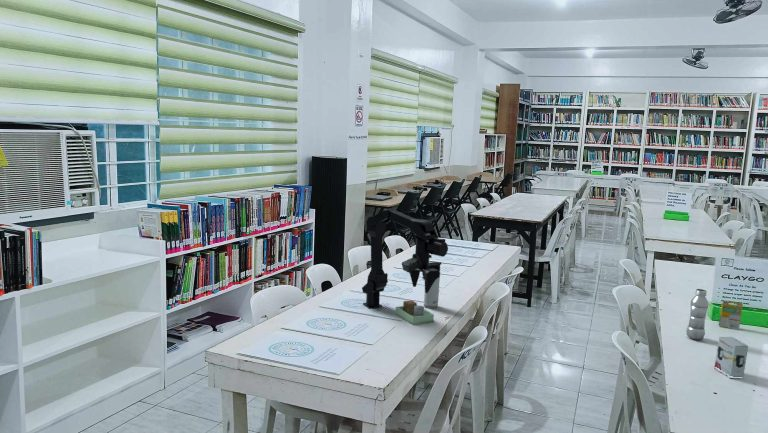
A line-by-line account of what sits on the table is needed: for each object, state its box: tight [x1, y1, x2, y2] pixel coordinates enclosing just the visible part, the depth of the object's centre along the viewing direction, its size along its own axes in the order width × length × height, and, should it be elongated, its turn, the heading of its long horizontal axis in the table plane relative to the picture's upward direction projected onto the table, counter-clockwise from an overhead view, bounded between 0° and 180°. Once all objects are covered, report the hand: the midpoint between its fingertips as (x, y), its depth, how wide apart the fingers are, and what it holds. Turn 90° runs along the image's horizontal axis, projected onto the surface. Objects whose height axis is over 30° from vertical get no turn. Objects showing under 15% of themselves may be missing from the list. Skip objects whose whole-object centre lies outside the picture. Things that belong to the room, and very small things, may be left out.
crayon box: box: [718, 300, 744, 331], centre depth 244 cm, size 7×3×12 cm, turn 65°
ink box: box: [714, 336, 749, 378], centre depth 196 cm, size 9×5×12 cm, turn 5°
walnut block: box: [402, 300, 418, 315], centre depth 241 cm, size 4×4×5 cm
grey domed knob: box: [413, 305, 425, 317], centre depth 235 cm, size 5×5×5 cm
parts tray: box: [394, 304, 435, 325], centre depth 238 cm, size 14×10×3 cm
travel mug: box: [423, 261, 442, 310], centre depth 252 cm, size 6×7×20 cm
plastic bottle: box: [686, 288, 710, 341], centre depth 227 cm, size 6×7×20 cm
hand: (420, 289), depth 233 cm, fingers open, 9 cm apart
